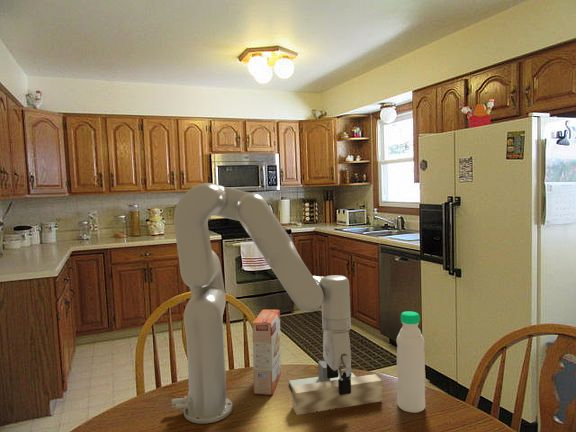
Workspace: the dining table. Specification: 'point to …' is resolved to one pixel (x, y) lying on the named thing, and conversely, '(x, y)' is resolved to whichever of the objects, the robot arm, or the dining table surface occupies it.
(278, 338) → the cracker box
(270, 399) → the dining table surface
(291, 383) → the stand
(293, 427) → the dining table surface
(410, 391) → the water bottle
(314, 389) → the birch bar
